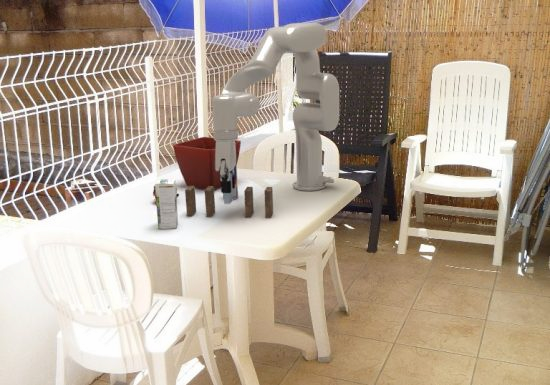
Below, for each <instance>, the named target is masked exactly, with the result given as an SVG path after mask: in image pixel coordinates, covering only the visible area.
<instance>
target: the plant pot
mask: <svg viewBox="0 0 550 385" xmlns="http://www.w3.org/2000/svg"><path fill="white" fill-rule="evenodd" d="M241 144H242V140H238V139H237V140H235V146H236V167H237V166H238V160H239V157H240V151H241ZM172 148H173V152H174V156H175V159H176V163H177V167H178V169H179V172H180V174H181V176H182V178H183V180H184V182H185V185H186V186H187V188H188V187H189V186H195V189H200V190H205V189H206V188H207V187H208V186H214V191H215V190H217V189H221V175H220V171H219V172H217V171H216V165H215V151H216V141H215V140H214V137H212V136H211V137H209V136H207V137H206V136H202V137H198V138H195V139H190V140H187V141H186V140H185V141H182V142H179V143H176V144H175V143H174V144H173V145H172Z"/></svg>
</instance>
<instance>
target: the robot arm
mask: <svg viewBox="0 0 550 385" xmlns="http://www.w3.org/2000/svg"><path fill="white" fill-rule="evenodd" d="M326 40H327V30H326V28H325V26H323V24H320V23H319V22H304V23H303V22H297V23H296V22H294V23H289V24H288V23H287V24H286V25H283V26H273V27H271V28H269V29H267V30H266V32H265V33H264V34H263V37H262V39H261V40H260V42H259V44H258V47H256V50H254V53H253V55H252V57H251V58H250V60H249V62H247V63H245V65H243V66H242V67H241V68H239V69H238V70H237V71H236V72H235V73H233V75H231V76H230V78H229V79H228V80H227V82H226V83H225V85H224V86H223V89H222V91H221V93H220V94H218V95H215V96H213V98H212V99H211V100H212V102H211V103H212V104H211V105H212V122H213V123H212V127H213V138H214V140H215V141H216V151H215V165H216V171H217V172H219V171H220V175H221V187H220V193H221V194H223V193H231V181H230V173H232V188H235V176H234V167H235V166H236V146H235V140H237V141H238V139H239V136H238V135H239V134H238V117H246V118H247V117H249V118H250V117H253V116H255V115H256V114H257V113H258V112H259V110H260V108H261V101H260V99H259V98H258V96H257V95H255V94H253V93H251V92H245V90H247V89H248V88H249V87H251V86H252V85H255V84H256V83H259V82H262V81H264V80H266V79H268V78H270V77H272V76H273V74H274V73H275V71H276V69H277V67H278V64H279V63H280V61H281V59H282V58H283V56H284V54H292V55H293V57H294V60H295V61H294V62H295V79H296V82H295V83H296V84H295V85H296V93H297V96H298V97H300V98H302V99H304V100H305V99H306V100H315V101H319V103H318V102H301V103H299V104H297V105H296V106H295V107H294V109H293V112H292V121H293V124H294V125H293V126H294V130H295V146H296V147H295V148H296V150H295V151H296V152H295V154H296V155H295V156H296V181H294V182H293V183H292V188H293V189H295V190H299V191H304V192H305V191H307V192H311V191H320V190H323V189H325V188H326V187H327V183H329V184H334V183H335V178H334V177H331V176H325V175H324V173H323V153H322V152H323V150H322V149H323V148H322V147H323V141H322V140H323V139H322V136H321V134H320V132H319V131H321V132H332V131H333V130H336V128H337V127H338V124H339V120H340V85H339V82H338V79H337V77H336V76H335V75H333V74H331V73H329V72H328V73H327V72H326V73H325V72H321V67H320V66H321V65H320V64H321V63H320V57H319V53H318V52H317V50H318V49H319V50H320V48H322V47H323V46H324V45H325V43H326V42H327V41H326ZM236 167H237V166H236ZM227 170H228V171H227ZM226 173H227V174H226Z"/></svg>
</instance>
